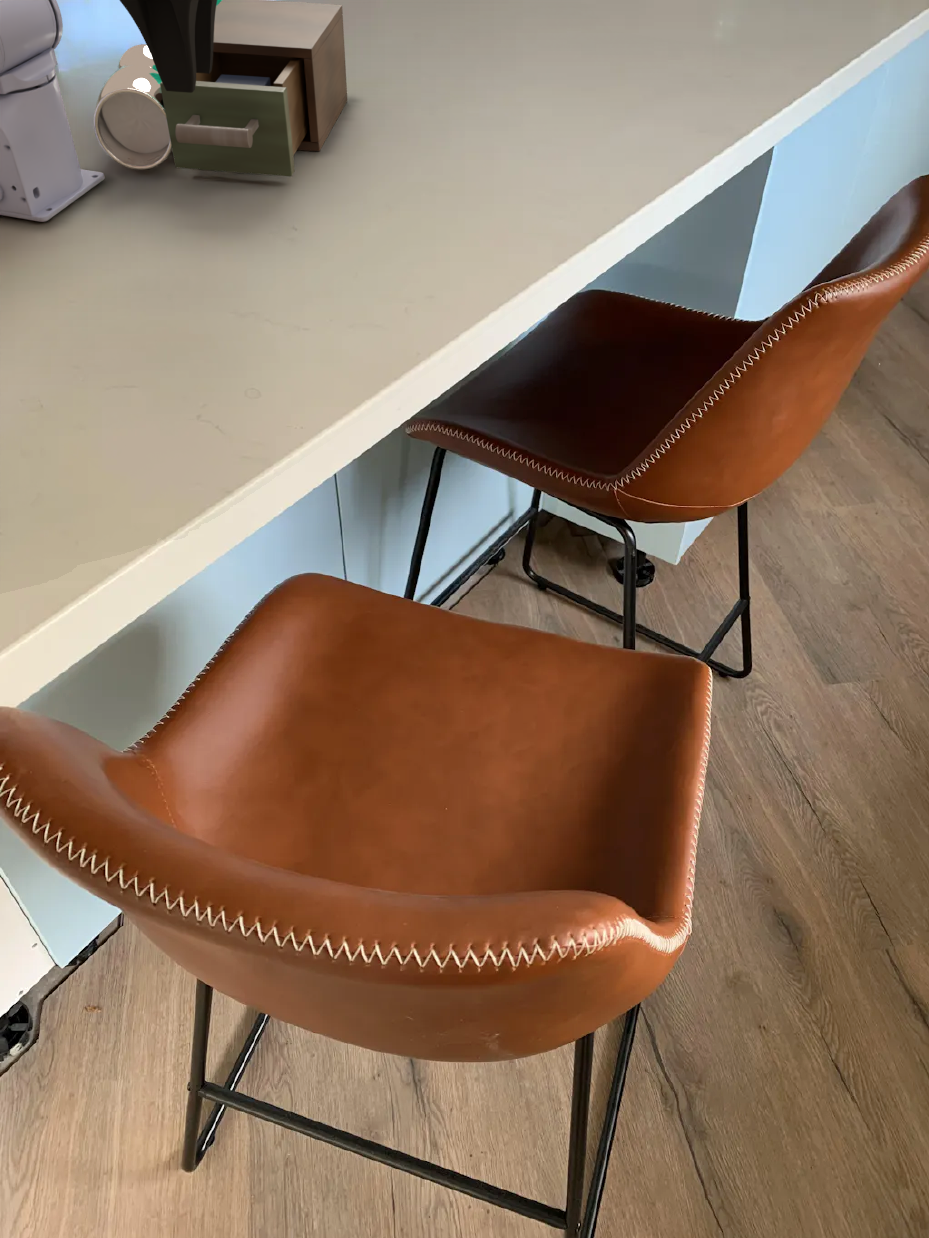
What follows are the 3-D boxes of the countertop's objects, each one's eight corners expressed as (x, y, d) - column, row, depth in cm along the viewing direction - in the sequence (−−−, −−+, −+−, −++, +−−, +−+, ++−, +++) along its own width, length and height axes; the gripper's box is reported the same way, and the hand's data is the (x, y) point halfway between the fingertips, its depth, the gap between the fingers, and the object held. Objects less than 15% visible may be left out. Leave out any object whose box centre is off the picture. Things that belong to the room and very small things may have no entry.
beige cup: (180, 37, 90) (166, 84, 80) (194, 117, 95) (183, 171, 85) (104, 39, 90) (81, 87, 79) (122, 119, 94) (102, 174, 84)
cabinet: (319, 151, 89) (311, 48, 83) (198, 142, 90) (181, 40, 84) (347, 101, 98) (342, 4, 92) (237, 93, 99) (224, -3, 93)
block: (265, 148, 84) (258, 94, 81) (216, 145, 84) (207, 91, 81) (275, 129, 87) (270, 77, 84) (228, 126, 87) (220, 74, 84)
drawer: (280, 196, 80) (271, 110, 75) (159, 187, 81) (142, 100, 76) (322, 124, 91) (316, 44, 86) (216, 116, 92) (204, 37, 87)
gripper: (176, -126, 56) (213, 119, 66) (241, -165, 66) (265, 53, 76) (60, -132, 57) (114, 112, 67) (142, -170, 67) (179, 47, 76)
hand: (189, 81), depth 71 cm, fingers open, 4 cm apart
